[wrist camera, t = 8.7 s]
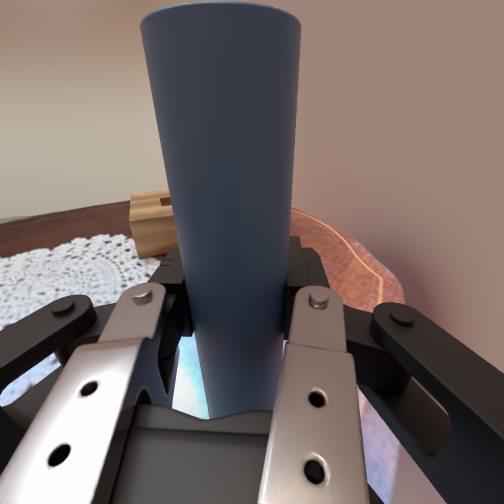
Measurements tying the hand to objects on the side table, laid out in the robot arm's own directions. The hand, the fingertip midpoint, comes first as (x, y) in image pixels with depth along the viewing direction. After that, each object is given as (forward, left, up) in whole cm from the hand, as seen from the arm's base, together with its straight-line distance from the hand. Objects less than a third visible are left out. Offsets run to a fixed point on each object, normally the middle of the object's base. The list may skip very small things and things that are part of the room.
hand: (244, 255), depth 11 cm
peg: (+1, +3, -9) cm, 9 cm away
